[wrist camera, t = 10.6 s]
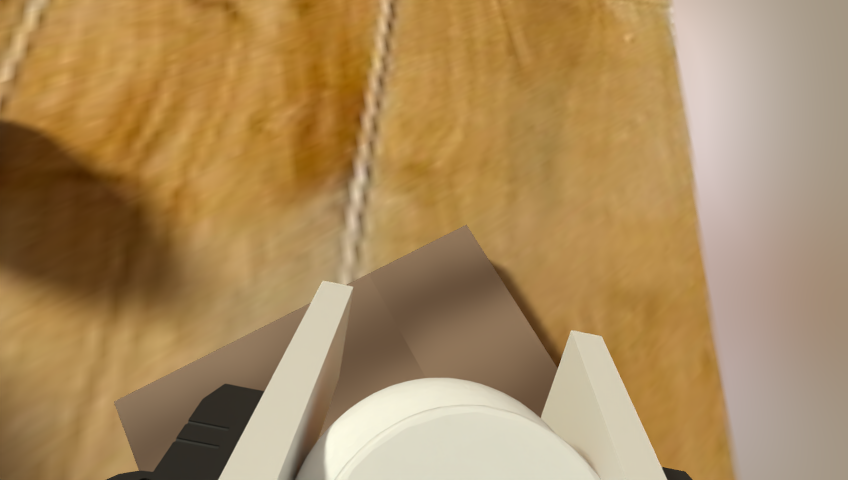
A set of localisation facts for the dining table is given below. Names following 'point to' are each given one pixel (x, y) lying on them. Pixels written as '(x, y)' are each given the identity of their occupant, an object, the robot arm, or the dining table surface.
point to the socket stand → (372, 345)
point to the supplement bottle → (442, 438)
